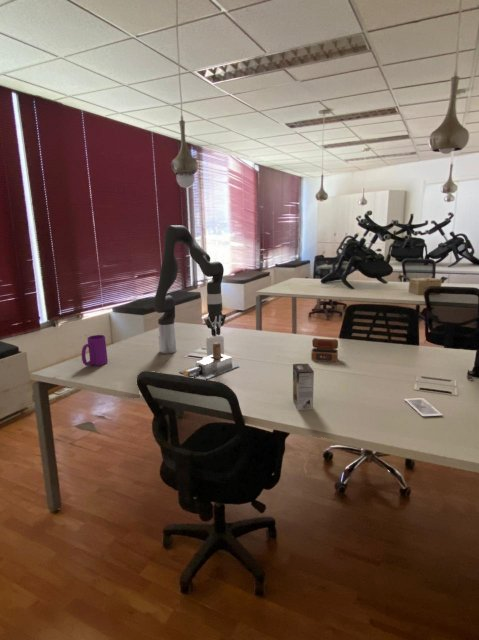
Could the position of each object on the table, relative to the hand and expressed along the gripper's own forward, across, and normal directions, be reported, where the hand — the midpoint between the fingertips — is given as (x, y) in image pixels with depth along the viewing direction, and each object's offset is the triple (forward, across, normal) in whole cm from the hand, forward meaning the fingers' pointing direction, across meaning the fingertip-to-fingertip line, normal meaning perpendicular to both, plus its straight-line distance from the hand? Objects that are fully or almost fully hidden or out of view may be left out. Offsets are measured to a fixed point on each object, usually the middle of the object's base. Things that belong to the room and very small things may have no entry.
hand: (216, 335), depth 198 cm
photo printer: (+17, -12, -14) cm, 25 cm away
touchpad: (+18, -18, +96) cm, 99 cm away
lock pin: (+16, +15, 0) cm, 22 cm away
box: (+18, -45, +37) cm, 60 cm away
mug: (+17, +40, -54) cm, 69 cm away
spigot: (+16, 0, 0) cm, 16 cm away
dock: (+17, +5, 0) cm, 18 cm away
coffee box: (+17, +9, +59) cm, 62 cm away
